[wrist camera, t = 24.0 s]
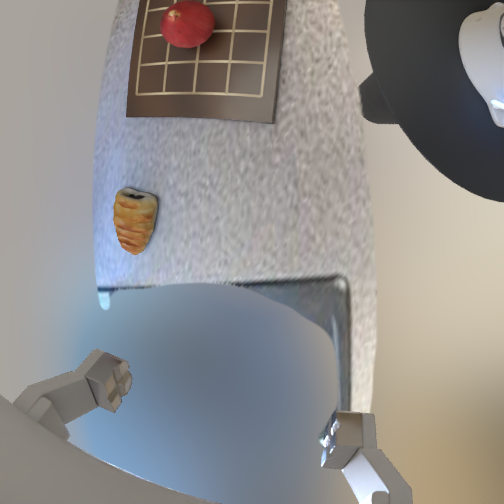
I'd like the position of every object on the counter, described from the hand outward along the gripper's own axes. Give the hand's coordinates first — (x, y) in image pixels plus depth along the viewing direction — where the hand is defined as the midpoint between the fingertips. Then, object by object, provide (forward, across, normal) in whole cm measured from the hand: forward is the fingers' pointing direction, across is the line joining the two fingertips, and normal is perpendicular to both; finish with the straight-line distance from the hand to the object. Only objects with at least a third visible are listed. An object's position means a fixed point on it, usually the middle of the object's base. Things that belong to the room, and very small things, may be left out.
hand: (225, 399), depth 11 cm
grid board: (+29, +13, -20) cm, 38 cm away
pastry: (+29, +21, +5) cm, 36 cm away
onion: (+28, +13, -20) cm, 37 cm away
